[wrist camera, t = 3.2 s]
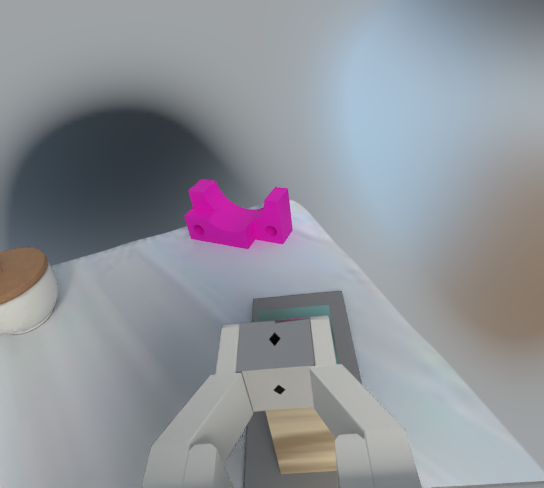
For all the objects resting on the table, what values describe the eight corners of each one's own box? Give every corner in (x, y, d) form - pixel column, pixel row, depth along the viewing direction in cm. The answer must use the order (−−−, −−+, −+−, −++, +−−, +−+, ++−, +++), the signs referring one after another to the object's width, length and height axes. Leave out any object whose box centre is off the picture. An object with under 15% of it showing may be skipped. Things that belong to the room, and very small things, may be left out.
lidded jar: (82, 314, 50) (48, 259, 45) (-7, 365, 45) (-57, 309, 40) (58, 278, 57) (26, 226, 52) (-21, 318, 52) (-66, 266, 47)
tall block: (342, 470, 31) (339, 366, 23) (280, 474, 32) (255, 372, 23) (334, 411, 35) (328, 305, 27) (279, 415, 36) (257, 311, 27)
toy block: (191, 239, 62) (178, 199, 57) (211, 218, 66) (201, 179, 62) (276, 255, 56) (270, 211, 51) (292, 230, 60) (287, 188, 56)
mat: (383, 491, 30) (384, 488, 30) (244, 499, 31) (243, 496, 31) (341, 293, 48) (341, 290, 47) (253, 301, 48) (253, 298, 48)
